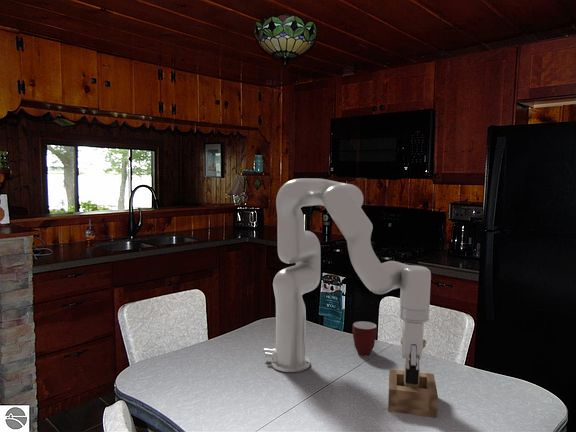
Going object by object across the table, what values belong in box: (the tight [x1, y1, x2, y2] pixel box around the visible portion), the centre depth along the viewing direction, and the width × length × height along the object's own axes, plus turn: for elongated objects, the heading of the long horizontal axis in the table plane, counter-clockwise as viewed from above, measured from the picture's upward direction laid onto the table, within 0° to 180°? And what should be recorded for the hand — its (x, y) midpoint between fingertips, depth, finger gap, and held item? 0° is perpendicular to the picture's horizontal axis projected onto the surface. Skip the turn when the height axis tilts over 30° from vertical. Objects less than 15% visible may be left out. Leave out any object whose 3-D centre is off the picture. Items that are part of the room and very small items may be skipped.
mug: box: [352, 320, 378, 356], centre depth 151 cm, size 10×8×10 cm
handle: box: [400, 337, 427, 388], centre depth 117 cm, size 5×6×15 cm
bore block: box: [387, 368, 439, 418], centre depth 118 cm, size 12×12×6 cm
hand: (411, 378), depth 118 cm, fingers closed on handle, 3 cm apart
